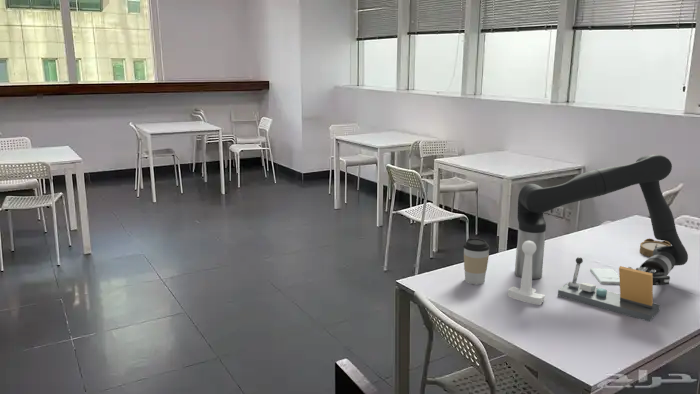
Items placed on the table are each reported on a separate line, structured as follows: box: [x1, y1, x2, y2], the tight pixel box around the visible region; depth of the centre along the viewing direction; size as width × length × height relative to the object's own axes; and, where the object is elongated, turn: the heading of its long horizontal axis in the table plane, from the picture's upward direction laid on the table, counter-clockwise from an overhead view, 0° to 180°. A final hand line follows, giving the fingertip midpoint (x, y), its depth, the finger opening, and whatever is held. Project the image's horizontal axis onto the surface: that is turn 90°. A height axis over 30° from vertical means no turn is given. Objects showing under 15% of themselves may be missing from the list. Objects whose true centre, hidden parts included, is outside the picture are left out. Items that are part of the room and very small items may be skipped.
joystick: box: [507, 241, 546, 306], centre depth 179 cm, size 11×8×20 cm
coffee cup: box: [462, 237, 490, 285], centre depth 194 cm, size 9×9×15 cm
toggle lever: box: [567, 256, 584, 289], centre depth 184 cm, size 3×2×10 cm
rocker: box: [579, 282, 597, 292], centre depth 181 cm, size 4×4×2 cm
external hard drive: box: [589, 267, 620, 286], centre depth 198 cm, size 2×8×12 cm
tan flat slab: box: [618, 265, 654, 309], centre depth 168 cm, size 9×2×14 cm, turn 47°
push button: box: [596, 287, 608, 297], centre depth 178 cm, size 3×3×2 cm
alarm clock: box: [639, 237, 672, 258], centre depth 224 cm, size 11×5×15 cm
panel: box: [557, 280, 661, 322], centre depth 177 cm, size 28×10×2 cm, turn 47°
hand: (639, 283), depth 170 cm, fingers closed
